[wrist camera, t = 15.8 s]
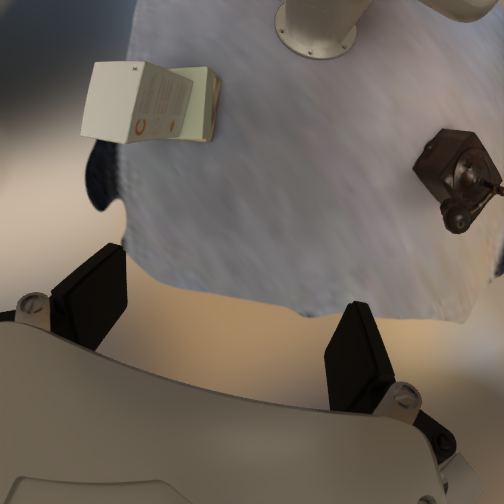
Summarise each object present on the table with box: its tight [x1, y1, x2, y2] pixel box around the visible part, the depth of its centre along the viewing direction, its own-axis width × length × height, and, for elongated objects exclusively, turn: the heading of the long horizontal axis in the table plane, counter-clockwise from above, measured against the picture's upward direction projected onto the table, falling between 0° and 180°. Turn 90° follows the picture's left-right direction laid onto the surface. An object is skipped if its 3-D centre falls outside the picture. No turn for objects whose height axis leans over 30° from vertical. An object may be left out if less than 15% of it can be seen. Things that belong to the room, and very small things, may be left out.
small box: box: [80, 61, 193, 144], centre depth 26 cm, size 8×6×13 cm
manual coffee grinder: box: [413, 129, 504, 234], centre depth 30 cm, size 16×11×18 cm
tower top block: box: [167, 67, 215, 139], centre depth 33 cm, size 10×10×4 cm
